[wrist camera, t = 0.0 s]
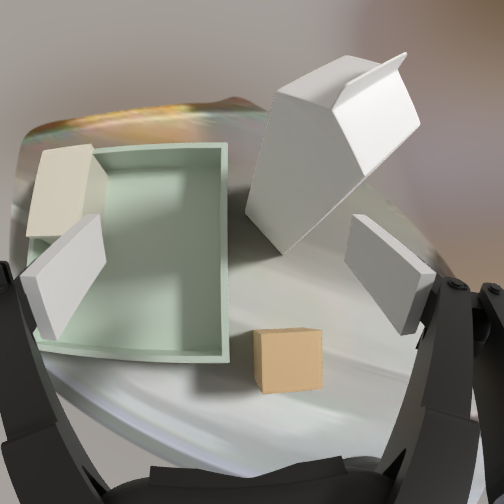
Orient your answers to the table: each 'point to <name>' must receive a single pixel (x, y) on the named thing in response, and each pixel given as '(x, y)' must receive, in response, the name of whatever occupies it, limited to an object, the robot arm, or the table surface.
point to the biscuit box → (287, 359)
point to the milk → (326, 143)
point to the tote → (156, 259)
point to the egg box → (66, 191)
